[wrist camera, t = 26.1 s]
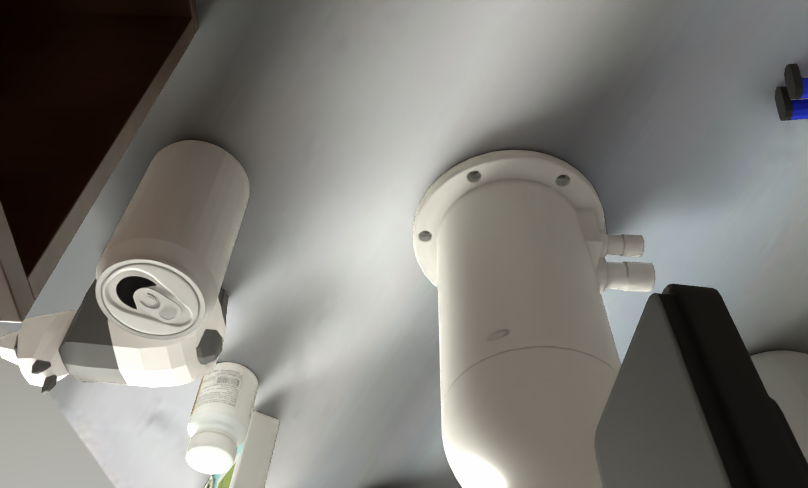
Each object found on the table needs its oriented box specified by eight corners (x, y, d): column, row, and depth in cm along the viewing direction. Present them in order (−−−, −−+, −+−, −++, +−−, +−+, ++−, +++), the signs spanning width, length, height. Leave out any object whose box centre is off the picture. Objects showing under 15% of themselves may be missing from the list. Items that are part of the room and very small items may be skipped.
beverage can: (183, 114, 46) (121, 233, 37) (271, 173, 49) (235, 298, 39) (134, 182, 49) (65, 307, 40) (219, 233, 52) (174, 363, 42)
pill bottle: (191, 371, 60) (165, 452, 54) (236, 353, 59) (214, 434, 53) (226, 404, 62) (204, 485, 56) (269, 387, 61) (252, 468, 55)
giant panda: (232, 247, 52) (201, 347, 45) (246, 307, 56) (219, 409, 48) (24, 253, 53) (-42, 352, 45) (50, 312, 56) (-7, 413, 49)
